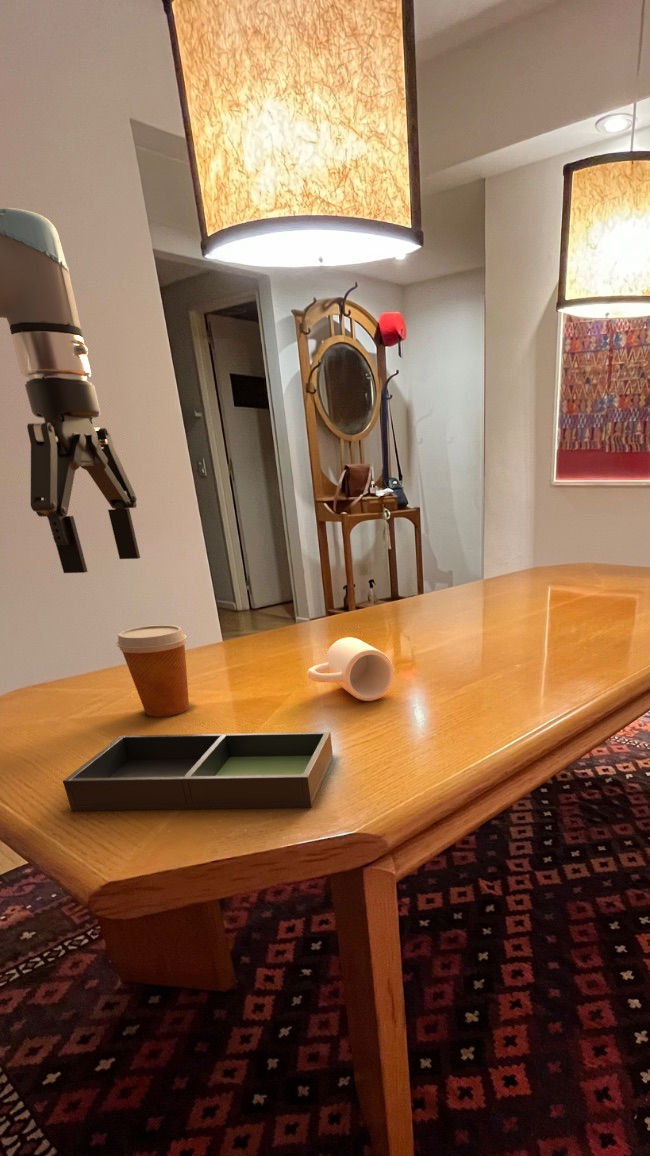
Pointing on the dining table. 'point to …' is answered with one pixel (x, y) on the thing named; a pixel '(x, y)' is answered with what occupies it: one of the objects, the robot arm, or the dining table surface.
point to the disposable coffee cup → (157, 667)
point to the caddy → (203, 772)
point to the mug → (356, 669)
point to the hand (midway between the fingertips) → (104, 565)
